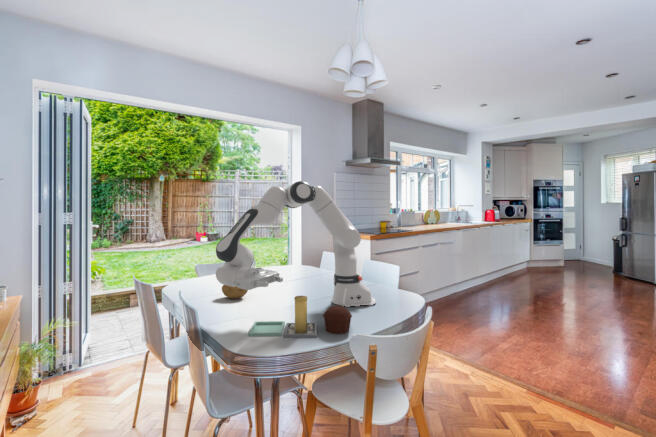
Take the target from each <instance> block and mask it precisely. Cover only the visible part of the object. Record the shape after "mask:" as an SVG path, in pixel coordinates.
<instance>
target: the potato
mask: <svg viewBox="0 0 656 437" xmlns="http://www.w3.org/2000/svg"><path fill="white" fill-rule="evenodd" d="M221 292H222V293H223V295H224V296H225V297H227V298H229V299H232V300H235V299H240V298H243V297H244V296H245V295H247V293H248V292H249V290H244V289H240V288H238V287H237V286H235V287H232V286H227V285H224V284H222V286H221Z"/></svg>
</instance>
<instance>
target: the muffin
mask: <svg viewBox="0 0 656 437" xmlns="http://www.w3.org/2000/svg"><path fill="white" fill-rule="evenodd" d="M322 317H323V320H324V326H325V332H327V333H329V334H331V335H332V334H334V335H340V334H346V333H348V332H349V331H350V327H351V322H352V317H353V315H352V313H351V312H350V311H349V309H348V307H344V306H342V305H337V304H335V305H332V306H330V307H328V308H327V309H326V310H325V312H324V313H322Z"/></svg>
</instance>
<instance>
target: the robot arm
mask: <svg viewBox="0 0 656 437" xmlns="http://www.w3.org/2000/svg"><path fill="white" fill-rule="evenodd" d="M305 204H306V205H308V206H309V207H310V208H311V209H312V211H313V212H314V213H315V215H316V216H317V217H318V219H319V220H320V221H321V223H322V225H323V226H324V227H325V228H326V229H327V231H329V233H330V234H331V236H332V243H333V247H332V248H333V255H334V274H333V294H332V298H331V303H333V304H335V305H340V306H343V307H344V306H345V308H351V307H350V306H355V307H361V306H360V305H369V306H372V305H371V304H375V303H377V301H376V299H375V297H373V296H372V292H371V290H370V288H369V287H368V286H366V285H365V284H364V283H363V282H361V281H363V277H362V276H361V275H359V274H358V273H357V256H356V252H355V248H356V247H358V246H359V245H360V244H361V241H362V236H361V233H360V232H359V230H358V229H357V228H356V227H355V226H354V225H353V223H352V222H351V221H350V220H349V218H347V216H346V215H345V214H344V213H343V212H342V211H341V209H340V208H339V206H338V205H337V204H336V202H335V201H334V199H333V197H331V195H330V194H329V193H328V192H327V191H326V190H325V189H324V188H323V187H322V186H321V185H311V184H310V183H308V182H306V181H303V180H302V181H301V180H300V181H296V182H294V183H292V184H290V185H289V186H288V187H287V188H283V187H281V186H279V185H273V186H271V187H270V188H268V189H267V190H266V192H265V193H264V195H263V196H262V197H261V198H260V200H259V201H258V203H257V205H256V206H255V207H253V208H249V209H248V210H246V212H244V213H243V215H242V216H241V217H240V218H239V219H238V221H237V222H236V223H235V224H234V225H233V227H232V228H231V229H230V231H229V232H228V233H227V234H226V235H224V237H223V238H222V239H220V240H219V241H218V243H217V244H216V247H215V254H216V257H217V259H218V260H220V261H223V262H225V263H223V264H221V265H220V266H218V267H217V268H216V270H215V277H216V280H217V281H218V283H220V284H221V285H227V286H232V287H235V286H237V287H238V288H240V289H244V290H248V291H251V290H253V289H257V288H267V287H268V286H269V284H272V283H276V282H277V283H282V282H283V281H284V278H283V277H282V276H280V272H278V271H277V270H276V271H275V270H271V269H265V268H264V267H252V266H253V264H254V261H255V254H254V252H253V251H252V250H251V249H250V248H248V247H246V246H244V245H243V244H242V243H241V239H242V238H243V237H244V236H245V235H246V233H247V232H248V231H249V229H250V228H251V227H253V226H255V225H259V226H264V227H265V226H270V225H272V224H274V223H276V221H278V220H277V219H278V218H279V217H280V214H281V213H282V211H283V209H284V208H286V207H287V208H289V209H297V208H300V207H302V206H304V205H305ZM375 305H376V304H375Z"/></svg>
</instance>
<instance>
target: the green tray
mask: <svg viewBox="0 0 656 437" xmlns="http://www.w3.org/2000/svg"><path fill="white" fill-rule="evenodd" d="M285 325H286V323H285V320H283V321H282V320H279V321H278V320H277V321H274V320H273V321H270V320H269V321H264V320H263V321H254V322H253V325H252V327H251V329H250V330H249V332H248V337H261V336H262V337H263V336H264V337H266V336H269V337H270V336H272V337H273V336H274V337H275V336H278V337H279V336H283V333H284V329H285V328H284V327H285Z"/></svg>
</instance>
